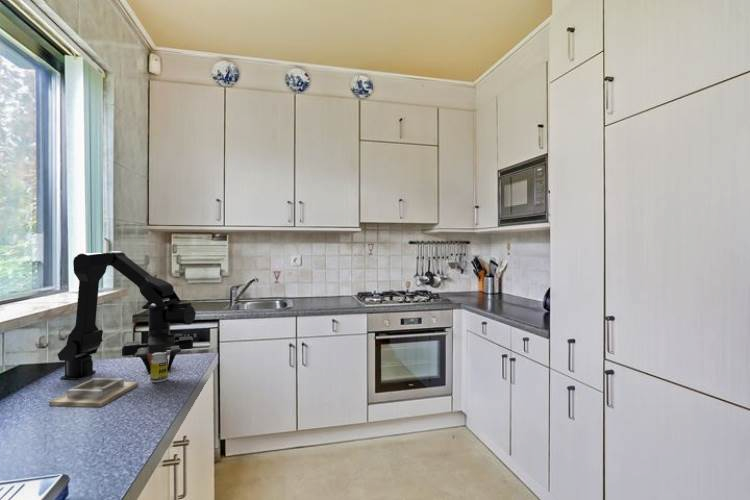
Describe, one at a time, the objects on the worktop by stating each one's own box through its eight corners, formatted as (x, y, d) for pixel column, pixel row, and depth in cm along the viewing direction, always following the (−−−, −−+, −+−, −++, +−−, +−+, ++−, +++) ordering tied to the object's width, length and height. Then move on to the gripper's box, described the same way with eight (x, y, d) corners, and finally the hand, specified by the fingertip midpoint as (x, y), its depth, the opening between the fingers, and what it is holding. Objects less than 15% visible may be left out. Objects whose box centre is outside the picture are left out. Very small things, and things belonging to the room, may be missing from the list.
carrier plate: (49, 405, 94) (49, 394, 94) (93, 384, 108) (93, 374, 108) (100, 406, 93) (100, 395, 93) (138, 385, 107) (138, 375, 107)
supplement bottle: (159, 383, 108) (159, 356, 108) (146, 381, 109) (146, 354, 109) (171, 377, 113) (171, 351, 113) (158, 376, 114) (159, 350, 114)
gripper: (118, 332, 99) (118, 387, 100) (193, 326, 108) (193, 376, 109) (124, 323, 109) (124, 374, 110) (192, 318, 118) (192, 365, 118)
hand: (159, 372), depth 111 cm, fingers closed on supplement bottle, 5 cm apart
